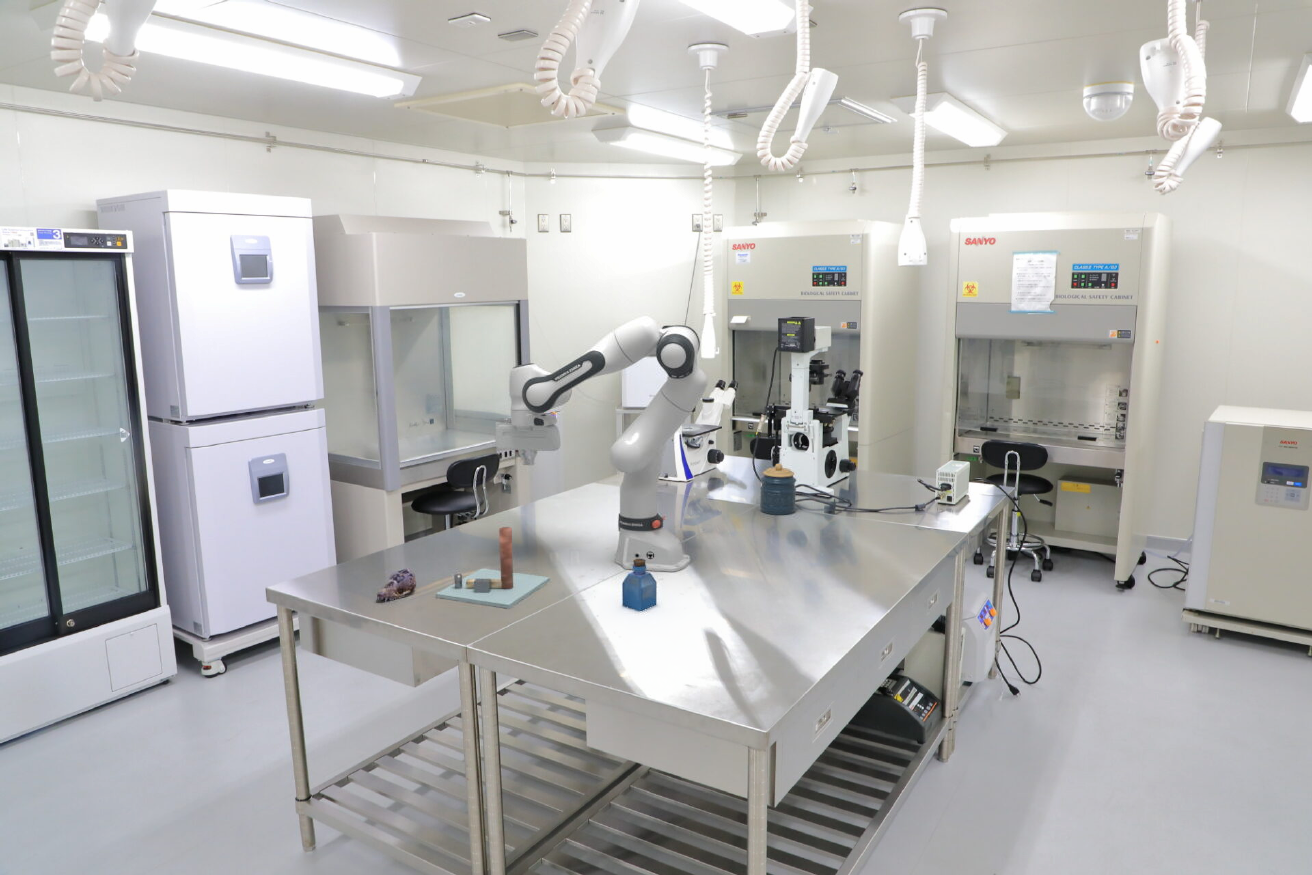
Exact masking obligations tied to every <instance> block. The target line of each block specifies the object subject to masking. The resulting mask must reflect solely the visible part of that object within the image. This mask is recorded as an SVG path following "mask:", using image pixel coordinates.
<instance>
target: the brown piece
mask: <svg viewBox="0 0 1312 875" xmlns="http://www.w3.org/2000/svg"><path fill="white" fill-rule="evenodd" d="M512 531H513V530H512V527H510V526H509V527H508V526H505V527H499V530H498V532H499V557H500V558H499V560H500V571H501V579H491V588H505V589H508V588H512V587H513V573H514V567H513V566H514V564H513V562H514V561H513V532H512ZM474 581H475V579H467V581H466V588H474Z"/></svg>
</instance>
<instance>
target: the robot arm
mask: <svg viewBox="0 0 1312 875" xmlns="http://www.w3.org/2000/svg"><path fill="white" fill-rule="evenodd" d="M700 344H701V342H700V337H699V336H698V333H697V332H696V331H695V330H694V328H692V327H691V326H687V325H680V324H677V325H676V324H675V325H663V326H662V327H661V326H660V325H659V323H658V322H657V321H656V320H655V319H654V318H652V317H651V316H647V315H643V316H640V317H637V318H635V319H631V320H630V321H628V322H626V323H623V324H622V325H620V326H618V327H617V328H615V329H613V330H612V331H611V332H609V333H608V334H606V335H605V336H603V337H602V338H601V339H600V340H599V341H598V342H596V343H595V344H594V345H593V346H591V348H589V349H587V351H585V352H584V353H583V354H582V355H580V356H579V357H577V358H576V359H574V360H573V361H571V362H569V363H568V364H566V365H564V366H562V367H561V368H559V369H558V370H556V371H555V372H554V371H553V373H552V372H549V371H547V370H545V369H543V368H541V367H540V366H539V365H537V364H536V363H533V362H530V363H524V364H520V365H516V366H515V365H514V366H513V367H512V368H511V370H510V372H509V380H508V381H509V387H508V388H509V389H508V390H509V397H510V400H511V405H510V418H503V417H501V418H499V419H498V420H497V421H496V422H495V444H494V445H495V448H496V449H497V450H507V451H509V450H510V451H518V455H519V456H520V458H521V460H522V465H523V466H534V465H535V458H536V456H537V454H538V451H540V452H555V451H558V450H559V449H560V447H561V435H560V430H559V427H558V425H556V424H557V422H558V418H557V417H556V416H554V415H552V414H549V413H546V412H548V411H550V410H552V409H556V408H559V407H561V406H563V405H565V404H566V403H567V402H569V400H570V399H571V397H572V393H573V391H572V389H573V388H575V387H577V386H578V385H581V383H583V382H586V381H587V380H590V379H593V378H596V377H600V376H604V375H610V374H613V373H617V372H620V371H623V370H625V369H627V368H629V367H631V366H633V365H634V364H637V363H638V362H639V361H641V360H643V359H644V358H646V357H649V356H655V357H656V360H657V362H658V364H659V365H660V366H661V369H663V370H664V372H665V373H666V375H667V376H668V378H667V379H666V381H665V382H664V383H663V385H662V386H661V387H660V388H659V390H658V391H657V392H656V394H655V395H654V397H653V398H652V399H651V401H650V402H649V403H648V405H647V406H646V408H644V410H643V411H642V412H641V413H640V414H639V415H638V416H637V417H636V418H635V420H633V422H632V423H631V424H629V426H628V427H627V428H626V429H625V430H624V431H623V433H622V434H621V435H620V436H619V438H618V439H617V440H616V441H615V442H614V443H613V444H612V445H611V447H610V450H609V454H608V455H609V461H610V463H611V465H612V466H613V467H614V468H615V470H617V471H619V472H621V473H624V474H623V478H622V482H621V484H620V487H619V513H618V518H617V519H618V520H617V526H618V527H617V529H618V532H619V534H618V544H617V549H616V553H615V557H614V561H615V562H616V563H617V564H619V565H620V566H622V568H623V569H625V570H633V564H634V562H633V560H635V559H644V560H646V562H645V564H646V570H645V571H651V572H652V571H654V572H655V571H656V572H671V573H672V572H678V571H681V570H683V569H684V568H686V567H687V566H689V565H690V563H691V557H690V556H689V554H686V553H685V554H684V550H683V545H682V542H681V540H680V538H678V537H676V535H674V534H673V533H671V532H670V531H669V530H668V529H667V528H665V527H664V521H665V516H664V515H663V516H660V515H659V513H658V487H659V478H660V475H661V474H660V473H661V468H662V461H663V456H664V453H665V450H666V447H667V446H666V443H667V442H668V440H670V439H671V438H672V436H674V435H675V434H676V433H677V431H678V430H679V429H680V427H681V426H682V425H683V424H684V422H685V421H686V419H688V417H689V416H690V414H691V413H692V412H693V410H694V409H695V408H696V406H697V405H698V404H699V402H700V400H701V398H702V397H703V395H704V393H705V391H706V389H707V387H708V384H709V382H708V377H707V375H706V373H705V372H704V371H703V370H702V368H700V367H699V366H698V365H697V363H696V359H697V356H698V354H699V353H698V352H699V351H700V346H701V345H700ZM527 451H529V454H530V457H529V458H528V457H527V455H526V453H527Z"/></svg>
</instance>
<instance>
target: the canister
mask: <svg viewBox="0 0 1312 875" xmlns="http://www.w3.org/2000/svg"><path fill="white" fill-rule="evenodd" d="M762 475H763V476H762V477H760V478H759V480H760V481H761V486H760V487H759V488H760V496H759V497H760V501H759V502H760V503H759V508H760V510H759V511H761V512H762V513H765V514H767V515H775V516H776V515H777V516H784V515H792V514H793V513H795V511H796V508H797V507H796V493H797V492H796V491H797V488H796V482H797V478H796V477H794V476H795V472H794V471H792V470H791V469H789V468H786V467H783V465H782V463H776V464H775V466H774V467H769V468H766V470H764V471H762Z"/></svg>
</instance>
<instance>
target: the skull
mask: <svg viewBox="0 0 1312 875" xmlns="http://www.w3.org/2000/svg"><path fill="white" fill-rule="evenodd" d="M416 588H417V581H416V576H415V573H414V572H413V571H412V570H411V569H410V568H409V569H408V568H404V569H401V570H398V571H394V572H392V573H391V574H390V576H389V579H388V581H387V582H386V584H385V585H384V586H383V587H382V589H380V590H379V591H378V592H377V593H376V595H377V596H376V599H377V600H378V599H380V600H384V603H387V600H388V599H389V600H390V601H393V599H395V600H396V598H397V599H399V598H401V597H404V596H405V595H406V594H408V595H410V594H412V593H413V592H414V591H415V589H416ZM400 592H402V593H400ZM389 600H388V601H389Z"/></svg>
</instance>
